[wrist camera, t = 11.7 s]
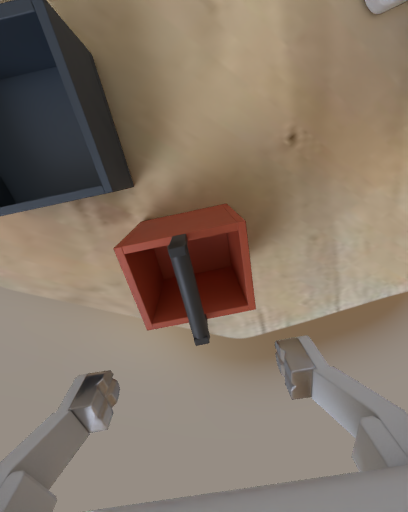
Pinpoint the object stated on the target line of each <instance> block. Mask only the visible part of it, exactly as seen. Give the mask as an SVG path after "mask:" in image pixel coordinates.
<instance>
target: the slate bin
mask: <svg viewBox="0 0 408 512" xmlns="http://www.w3.org/2000/svg"><path fill="white" fill-rule="evenodd" d="M131 187H134V184H133V181H132V178H131V175H130V172H129V169H128V166H127V163H126V160H125V156H124V153H123V150H122V147H121V144H120V141H119V138H118V135H117V132H116V128H115V125H114V122H113V119H112V116H111V113H110V110H109V107H108V104H107V101H106V97H105V94H104V91H103V88H102V85H101V82H100V79H99V76H98V73H97V69H96V66H95V63H94V60H93V57H92V54H91V53H90V52H89V51H88V49H87V48H86V47H85V46H84V44H83V43H82V42H81V41H80V40H79V39H78V37H77V36H76V35H75V34H74V33H73V32H72V30H71V29H70V28H69V27H68V26H67V24H66V23H65V22H64V21H63V20H62V19H61V17H60V16H59V15H58V14H57V13H56V12H55V10H54V9H53V8H52V7H51V6H50V5H49V3H48V2H47V1H46V0H13V1H9V2H5V3H1V4H0V216H4V215H8V214H13V213H17V212H22V211H27V210H31V209H36V208H41V207H45V206H50V205H55V204H59V203H64V202H68V201H73V200H78V199H82V198H87V197H92V196H96V195H101V194H105V193H110V192H114V191H119V190H123V189H127V188H131Z"/></svg>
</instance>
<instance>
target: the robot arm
mask: <svg viewBox="0 0 408 512" xmlns="http://www.w3.org/2000/svg"><path fill="white" fill-rule="evenodd" d="M364 1H365V3H366V5H367V7H368V8H369V10H370V11H371V12H372V13H374V14H380V13H383V12H385V11H387V10H389V9H391V8H394V7H396V6H398V5H400V4H402V3H404V2H406V1H408V0H364ZM275 348H276V349H277V352H276V360H277V365H278V367H279V370H280V373H281V375H283V376H284V377H285V385H286V387H287V389H288V392H289V394H290V396H291V399H292V400H293V399H300V398H309V397H312V399H313V400H315V402H316V403H318V404H319V405H320V406H321V407H322V408H323V409H324V410H325V411H326V412H327V413H328V414H330V415H331V416H332V417H333V418H334V419H335V420H336V421H337V422H338V423H339V424H341V426H343V427H344V428H345V429H346V430H347V431H348V432H349V433H350V434H351V435H352V436H353V437H355V438H356V441H355V444H354V449H353V453H352V458H353V460H354V462H355V464H356V466H357V468H358V469H359V471H360V472H354V473H347V474H340V475H333V476H326V477H319V478H312V479H305V480H298V481H291V482H285V483H277V484H271V485H264V486H257V487H250V488H244V489H236V490H230V491H222V492H215V493H209V494H201V495H195V496H188V497H181V498H174V499H167V500H160V501H153V502H146V503H139V504H132V505H126V506H118V507H112V508H105V509H98V510H91V511H84V512H408V414H407V413H406V412H405V411H404V410H403V409H401V408H400V407H398V406H397V405H395V404H393V403H392V402H390V401H388V400H387V399H385V398H384V397H382V396H380V395H379V394H377V393H376V392H374V391H372V390H371V389H369V388H367V387H366V386H364V385H363V384H361V383H360V382H358V381H356V380H355V379H353V378H352V377H350V376H348V375H347V374H345V373H344V372H342V371H340V370H339V369H337V368H335V367H334V366H331V367H330V366H329V365H328V363H327V362H326V360H325V359H324V357H323V356H322V354H321V353H320V352H319V350H318V349H317V347H316V346H315V344H314V343H313V341H312V340H311V338H310V337H309V336H307V335H306V336H300V337H293V338H288V339H283V340H278V341H275ZM112 377H113V373H112V372H111V371H102V372H95V373H88V374H82V375H79V376H77V377H76V379H75V380H74V382H73V384H72V385H71V387H70V389H69V390H68V392H67V394H66V396H65V397H64V399H63V401H62V403H61V404H60V406H59V408H58V410H57V411H56V413H52V414H51V415H50V416H49V417H48V418H47V419H46V420H45V421H44V422H43V423H42V424H41V425H40V426H38V427H37V428H36V429H35V430H34V431H33V432H32V433H31V434H30V435H29V436H28V437H27V438H26V439H25V440H24V441H23V442H21V443H20V444H19V445H18V446H17V447H16V448H15V449H14V450H13V451H12V452H11V453H10V454H9V455H8V456H7V457H6V458H4V459H3V460H2V461H1V462H0V512H52V511H53V509H54V507H55V504H56V502H57V498H56V496H55V495H54V494H52V493H51V492H50V491H49V489H50V488H51V486H52V485H53V483H54V482H55V481H56V479H57V478H58V477H59V475H60V474H61V473H62V471H63V470H64V468H65V467H66V466H67V465H68V463H69V462H70V460H71V459H72V458H73V456H74V455H75V454H76V452H77V451H78V450H79V448H80V447H81V445H82V444H83V443H84V441H85V440H86V439H87V437H88V436H89V435H90V434H89V433H93V432H98V431H103V430H108V427H109V424H110V421H111V418H112V415H113V410H112V407H113V406H114V405H115V404H116V403H117V400H118V397H119V391H120V387H119V384H118V382H117V380H115V379H113V378H112Z"/></svg>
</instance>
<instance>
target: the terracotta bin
mask: <svg viewBox="0 0 408 512" xmlns="http://www.w3.org/2000/svg"><path fill="white" fill-rule="evenodd" d="M114 251H115V253H116V256H117V258H118V261H119V263H120V266H121V268H122V270H123V273H124V275H125V278H126V280H127V283H128V285H129V287H130V290H131V292H132V295H133V297H134V300H135V302H136V304H137V307H138V309H139V312H140V314H141V317H142V319H143V321H144V324H145V326H146V329H147V330H152V329H158V328H163V327H168V326H173V325H178V324H184V323H189V324H190V327H191V330H192V334H193V337H194V342H195V345H196V346H197V345H203V344H208V343H209V338H210V335H209V331H208V324H207V319H209V318H214V317H219V316H224V315H229V314H235V313H240V312H245V311H249V310H254V309H256V306H255V298H254V289H253V281H252V272H251V263H250V255H249V246H248V237H247V229H246V221H245V220H244V219H243V218H242V217H241V216H239V215H238V214H237V213H236V212H235V211H234V210H233V209H232V208H231V207H230V206H229V205H228V204H222V205H217V206H213V207H208V208H203V209H199V210H194V211H189V212H184V213H180V214H175V215H170V216H166V217H161V218H156V219H151V220H147V221H142V222H140V223H139V224H138V225H137V226H136V227H135V228H134V229H133V230H132V231H131V232H130V233H129V234H128V235H127V236H126V237H125V238H124V239H123V240H122V241H121V242H120V243H119V244H118V245H117V246H116V247H115V248H114Z"/></svg>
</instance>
